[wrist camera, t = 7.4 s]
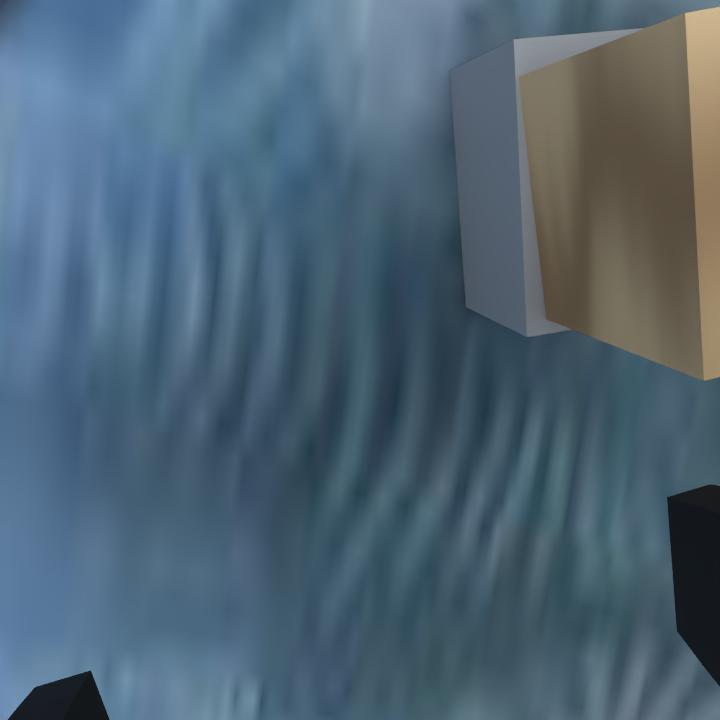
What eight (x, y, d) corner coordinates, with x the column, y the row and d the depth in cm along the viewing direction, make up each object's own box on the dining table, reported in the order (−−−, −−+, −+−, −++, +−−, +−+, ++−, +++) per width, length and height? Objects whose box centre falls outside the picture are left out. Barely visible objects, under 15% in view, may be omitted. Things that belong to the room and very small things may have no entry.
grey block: (659, 276, 20) (767, 297, 16) (463, 306, 19) (527, 337, 15) (662, 52, 18) (782, 16, 14) (446, 71, 17) (513, 39, 13)
